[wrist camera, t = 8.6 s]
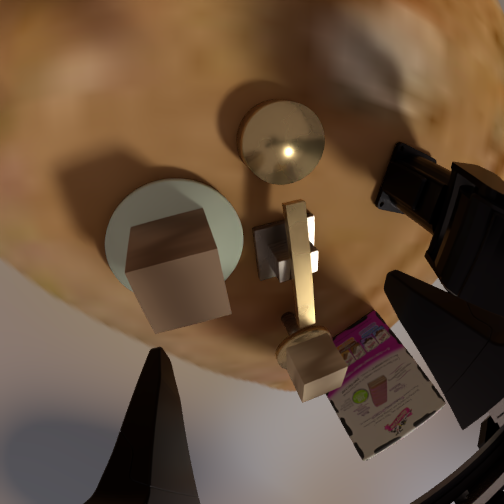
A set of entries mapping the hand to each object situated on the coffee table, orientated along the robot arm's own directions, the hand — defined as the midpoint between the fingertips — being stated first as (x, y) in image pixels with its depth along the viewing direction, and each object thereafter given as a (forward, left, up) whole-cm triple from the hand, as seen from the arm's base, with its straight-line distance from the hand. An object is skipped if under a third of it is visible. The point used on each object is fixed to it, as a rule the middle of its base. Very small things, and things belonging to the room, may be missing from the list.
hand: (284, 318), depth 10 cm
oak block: (-9, +13, -7) cm, 17 cm away
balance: (-6, +4, -12) cm, 14 cm away
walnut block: (+3, +4, -11) cm, 12 cm away
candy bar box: (-20, +18, -12) cm, 30 cm away
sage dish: (+3, +4, -12) cm, 13 cm away
